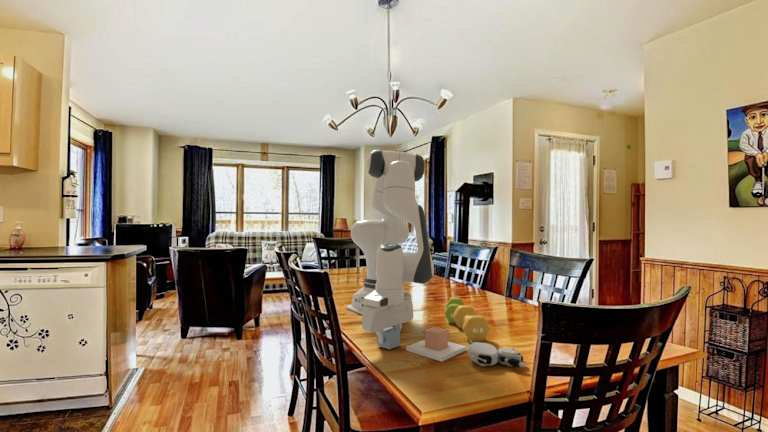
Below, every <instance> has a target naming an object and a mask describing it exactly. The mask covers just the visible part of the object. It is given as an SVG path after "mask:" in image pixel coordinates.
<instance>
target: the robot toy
mask: <svg viewBox="0 0 768 432" xmlns="http://www.w3.org/2000/svg"><path fill="white" fill-rule="evenodd" d="M469 343H470V344H469V346H468V347H467V348H468V349H467V350H468V351H467V356H468V357H469V358H470V360H471V361H472V362H474V363H476V364H478V366H480V367H487V366H494V365H496V364H497V363H500V364H501V365H504V366H507V367H509V368H510V367H515V368H519V367H520V368H525V367H526V363H525V362H523V361H524V357H523V355H522V353H520V351H519V350H516V349H514V348H510V347H509V348H507V347H500V348H498V349H497V348H496V347H495V346H494V344H493V345H492V344H490V343H485V342H481V341H480V342H473V341H469Z"/></svg>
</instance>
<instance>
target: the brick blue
mask: <svg viewBox="0 0 768 432" xmlns="http://www.w3.org/2000/svg"><path fill="white" fill-rule="evenodd" d="M382 334H383V337H386V339H385V341H386V342H385V343H382V344H381V343H379V342H378V341H377V347H381V348H383V349H387V350H389V351H390V350H392V349H394V348H398V347H400V346H401V330H400V329H396V328H395V327H394V326H392V327H389V328H386V329H384V331H383V333H382Z"/></svg>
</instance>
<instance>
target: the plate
mask: <svg viewBox="0 0 768 432" xmlns="http://www.w3.org/2000/svg"><path fill="white" fill-rule="evenodd" d="M405 349H406V351H408V352H409V353H414V354H416V355H419V356H423V357H426V358H429V359H432V360H435V361H438V362H442V363H443V362H445V361H446V360H449V359H450V358H453V357H455V356H457V355H459V354H462V353H463V352H465V351H467V346H466V345H462V344H459V343H455V342H451V341H448V346H447V347H445V348H443V349H440V350H436V349H432V348H429V347H426V346H425V339H422V340H421V341H417V342H415V343H412V344H410V345H407V346H406V347H405Z"/></svg>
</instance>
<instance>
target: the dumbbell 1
mask: <svg viewBox="0 0 768 432" xmlns="http://www.w3.org/2000/svg"><path fill="white" fill-rule="evenodd" d="M460 305H465V303H464V301H463V299H462V298H460V297H453V296H452V297H450V298H449V299H448V301H447V302H446V304H445V308H446V309H445V311H444V317H445V319H446V321H447V322H448V323H449V324H453V325H455V324H456V322H455V321H454V319H453V314H454V312H455V310H456V309H457V307H458V306H460ZM456 325H457V324H456Z"/></svg>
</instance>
